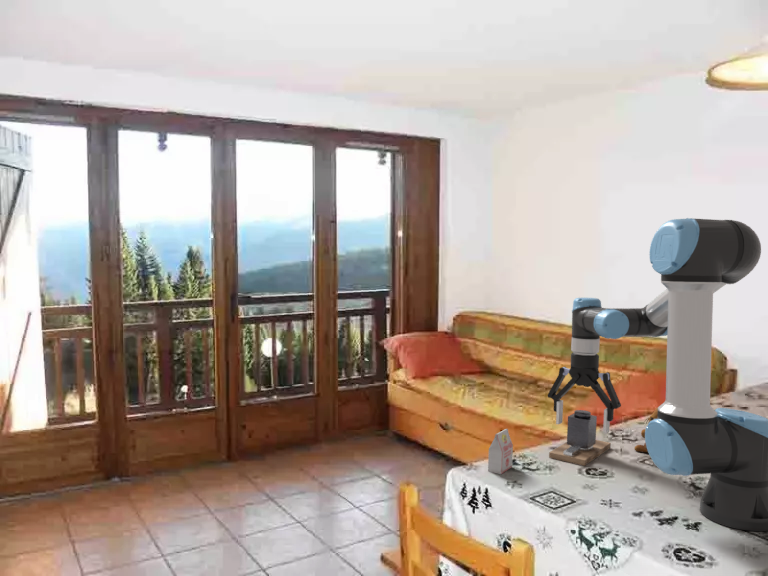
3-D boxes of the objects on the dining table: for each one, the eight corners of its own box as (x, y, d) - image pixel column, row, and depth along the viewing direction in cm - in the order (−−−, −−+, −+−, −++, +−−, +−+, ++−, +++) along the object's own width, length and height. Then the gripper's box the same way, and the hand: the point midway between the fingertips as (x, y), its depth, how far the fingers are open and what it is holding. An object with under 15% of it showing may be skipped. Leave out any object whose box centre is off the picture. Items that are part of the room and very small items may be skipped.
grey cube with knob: (587, 448, 180) (589, 416, 179) (566, 444, 184) (568, 412, 183) (595, 443, 185) (596, 411, 184) (575, 439, 188) (576, 408, 188)
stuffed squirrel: (631, 450, 187) (633, 405, 186) (671, 447, 191) (674, 403, 190) (655, 462, 178) (657, 415, 177) (697, 458, 182) (699, 411, 181)
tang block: (584, 465, 174) (585, 443, 173) (549, 457, 180) (549, 436, 179) (610, 447, 189) (611, 427, 189) (577, 440, 195) (578, 421, 195)
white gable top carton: (487, 471, 168) (489, 433, 168) (499, 464, 174) (500, 427, 173) (501, 474, 166) (502, 435, 165) (512, 467, 172) (513, 429, 171)
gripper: (634, 356, 178) (631, 433, 179) (548, 346, 193) (546, 417, 194) (625, 360, 172) (622, 439, 173) (537, 349, 187) (535, 422, 188)
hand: (582, 427), depth 184 cm, fingers open, 13 cm apart
